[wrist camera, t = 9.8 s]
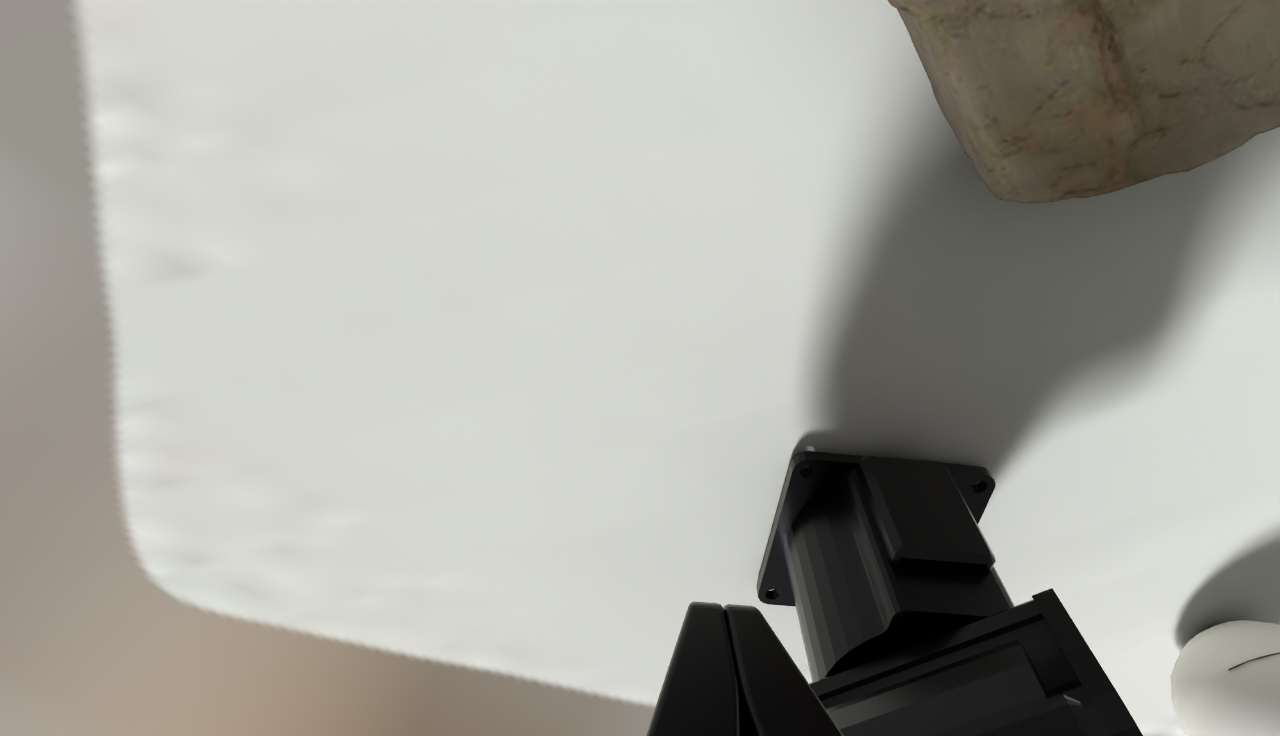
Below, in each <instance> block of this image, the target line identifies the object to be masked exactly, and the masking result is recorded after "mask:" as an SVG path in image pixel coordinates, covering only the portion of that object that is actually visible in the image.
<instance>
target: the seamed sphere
mask: <svg viewBox="0 0 1280 736" xmlns="http://www.w3.org/2000/svg"><path fill="white" fill-rule="evenodd" d="M1171 695H1172V702H1173V706H1174V711H1175V713H1176V715H1177V717H1178V720H1179V722H1180V724H1181V726H1182V729H1183V731H1184V733H1185V734H1186V736H1280V624H1275V623H1267V622H1258V621H1250V620H1239V621H1229V622H1226V623H1222V624H1219V625H1215V626H1213V627H1211V628H1208V629H1206V630H1204V631H1202V632H1200V633H1199V634H1198V635H1196V636H1195V637H1194V638H1192V639H1191V640H1190V641H1189V642H1188V643H1187V644H1186V645H1185V646H1184V648H1183V649H1182V650H1181V652H1180V654H1179V656H1178V659H1177V661H1176V663H1175V665H1174V668H1173V671H1172V674H1171Z"/></svg>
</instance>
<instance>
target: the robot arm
mask: <svg viewBox="0 0 1280 736" xmlns="http://www.w3.org/2000/svg"><path fill="white" fill-rule="evenodd" d="M805 466H813V467H812V468H811V469H809V470H802V468H803V467H805ZM977 481H981V482H980V483H978V484H976V485H973V483H975V482H977ZM994 488H995V481H994V479H993V477H992V475H991V474H990V472H989V471H988V470H987V469H986V468H983V467H979V466H967V465H956V464H945V463H941V462H930V461H919V460H908V459H896V458H885V457H874V456H868V457H867V456H856V455H844V454H833V453H822V452H811V451H808V452H802V453H799V454H797V455H796V456H795V457H793V459H792V460H791V462H790V466H789V469H788V473H787V477H786V480H785V484H784V488H783V491H782V495H781V498H780V502H779V506H778V509H777V513H776V516H775V520H774V524H773V527H772V531H771V535H770V538H769V542H768V545H767V549H766V553H765V556H764V560H763V564H762V567H761V571H760V574H759V578H758V582H757V593H758V598H759V599H760V601H762V602H763V603H766V604H772V605H785V606H796V609H797V614H798V618H799V623H800V627H801V632H802V636H803V641H804V645H805V650H806V654H807V659H808V663H809V668H810V672H811V677H812V683H810V684H808V682H807V681H806V679H805V678H804V676H803V675H802V673H801V672H800V670H799V669H798V667H797V666H796V664H795V663H794V661H793V660H792V658H791V657H790V655H789V654H788V652H787V651H786V649H785V648H784V646H783V645H782V643H781V642H780V640H779V639H778V637H777V636H776V635H775V633H774V632H773V630H772V629H771V627H770V626H769V624H768V623H767V621H766V620H765V618H764V617H763V615H762V614H761V612H760V611H759V610H758V609H757V608H755V607H753V606H745V605H731V604H729V605H726V606H724V607H722V606H721V605H720V604H717V603H705V602H692V603H691V604H690V605H689V607H688V610H687V613H686V616H685V619H684V622H683V625H682V628H681V631H680V634H679V637H678V640H677V643H676V646H675V649H674V653H673V656H672V659H671V662H670V665H669V668H668V671H667V674H666V677H665V680H664V683H663V686H662V689H661V692H660V695H659V698H658V701H657V705H656V708H655V711H654V714H653V717H652V720H651V723H650V726H649V729H648V732H647V735H646V736H1143V735H1142V733H1141V732H1140V730H1139V728H1138V726H1137V725H1136V723H1135V721H1134V720H1133V718H1132V716H1131V715H1130V713H1129V711H1128V710H1127V708H1126V706H1125V704H1124V703H1123V701H1122V700H1121V698H1120V696H1119V695H1118V693H1117V691H1116V690H1115V688H1114V687H1113V685H1112V683H1111V682H1110V680H1109V679H1108V677H1107V675H1106V674H1105V672H1104V671H1103V669H1102V667H1101V666H1100V664H1099V663H1098V661H1097V659H1096V658H1095V656H1094V654H1093V653H1092V651H1091V650H1090V648H1089V646H1088V645H1087V643H1086V642H1085V640H1084V638H1083V637H1082V635H1081V634H1080V632H1079V630H1078V629H1077V627H1076V626H1075V624H1074V622H1073V621H1072V619H1071V618H1070V616H1069V614H1068V613H1067V611H1066V610H1065V608H1064V606H1063V605H1062V603H1061V602H1060V600H1059V598H1058V597H1057V595H1056V594H1055V592H1054V590H1053V589H1052V588H1051V589H1049V590H1046V591H1044V592H1041V593H1038V594H1036V595H1033V596H1032V598H1033V600H1031V601H1028V602H1025V603H1023V604H1020V605H1017V606H1014V604H1013V602H1012V601H1011V599H1010V597H1009V595H1008V593H1007V591H1006V589H1005V587H1004V585H1003V583H1002V581H1001V579H1000V577H999V576H998V574H997V572H996V570H995V568H994V566H993V565H994V563H995V557H994V555H993V553H992V551H991V549H990V547H989V545H988V543H987V541H986V540H985V538H984V536H983V534H982V532H981V530H980V528H979V526H978V523H979V521H980V519H981V516H982V514H983V512H984V510H985V508H986V506H987V503H988V501H989V499H990V497H991V495H992V493H993V490H994ZM772 589H775V590H772ZM768 590H772V591H768Z"/></svg>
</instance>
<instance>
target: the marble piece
mask: <svg viewBox="0 0 1280 736" xmlns="http://www.w3.org/2000/svg"><path fill="white" fill-rule="evenodd" d="M888 1H889V3H890V4H891V5H892V6H894V7H895V8H897V10H898V12H899V14H900V16H901V18H902V20H903V21H904V24H905V26H906V28H907V30H908V32H909V34H910V37H911V40H912V42H913V45H914V47H915V49H916V51H917V53H918V55H919V58H920V60H921V62H922V64H923V67H924V69H925V71H926V73H927V76H928V78H929V80H930V82H931V85H932V88H933V92H934V95H935V97H936V100H937V102H938V104H939V106H940V108H941V110H942V112H943V114H944V116H945V118H946V120H947V121H948V123H949V124H950V126H951V127H952V129H953V131H954V133H955V134H956V136H957V138H958V140H959V142H960V144H961V145H962V147H963V149H964V151H965V153H966V154H967V156H968V157H969V158H970V160H971V161H972V162H973V164H974V166H975V168H976V170H977V172H978V174H979V176H980V177H981V179H982V180H983V181H984V183H985V184H986V186H987V187H988V188H989V189H990V191H991V192H992V193H993V195H994V196H995V197H997V198H999V199H1002V200H1009V201H1016V202H1022V203H1038V202H1053V201H1058V200H1063V199H1068V198H1085V197H1090V196H1095V195H1100V194H1105V193H1110V192H1114V191H1117V190H1120V189H1123V188H1126V187H1129V186H1132V185H1135V184H1138V183H1141V182H1144V181H1147V180H1150V179H1153V178H1156V177H1158V176H1161V175H1164V174H1169V173H1177V172H1185V171H1189V170H1192V169H1194V168H1196V167H1198V166H1201V165H1203V164H1205V163H1207V162H1209V161H1212V160H1214V159H1216V158H1218V157H1220V156H1223V155H1225V154H1227V153H1229V152H1231V151H1233V150H1234V149H1236V148H1238V147H1240V146H1241V145H1243V144H1244V143H1246V142H1247V141H1248V140H1250V139H1251V138H1253V137H1254V136H1255V135H1257V134H1260V133H1263V132H1266V131H1269V130H1272V129H1275V128H1277V127H1279V126H1280V0H888Z"/></svg>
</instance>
